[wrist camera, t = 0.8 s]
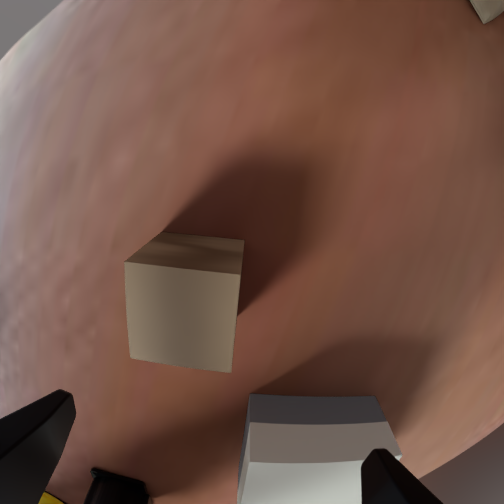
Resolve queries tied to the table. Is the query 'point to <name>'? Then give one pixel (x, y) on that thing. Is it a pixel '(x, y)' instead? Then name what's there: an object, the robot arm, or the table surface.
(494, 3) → the decorative ornament
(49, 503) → the stacking cups
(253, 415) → the tower base block
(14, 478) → the robot arm
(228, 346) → the brown faceted block
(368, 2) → the table surface
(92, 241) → the table surface
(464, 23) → the table surface
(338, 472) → the tower top block
